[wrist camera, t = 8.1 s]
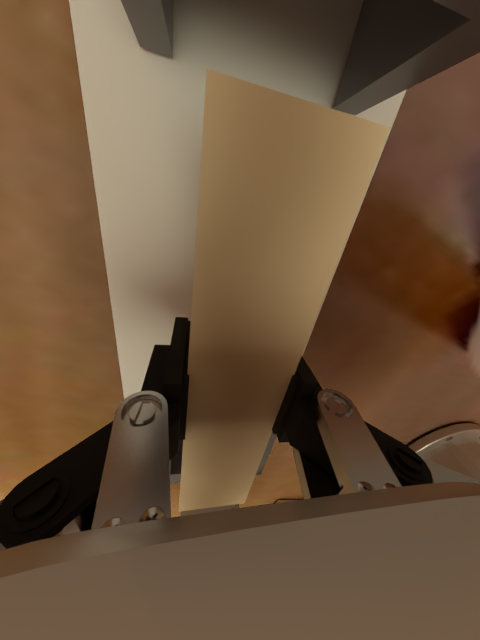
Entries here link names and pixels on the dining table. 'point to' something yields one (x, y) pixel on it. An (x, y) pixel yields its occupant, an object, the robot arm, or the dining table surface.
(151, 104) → the base
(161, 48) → the cap
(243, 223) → the slat
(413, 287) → the dining table surface
